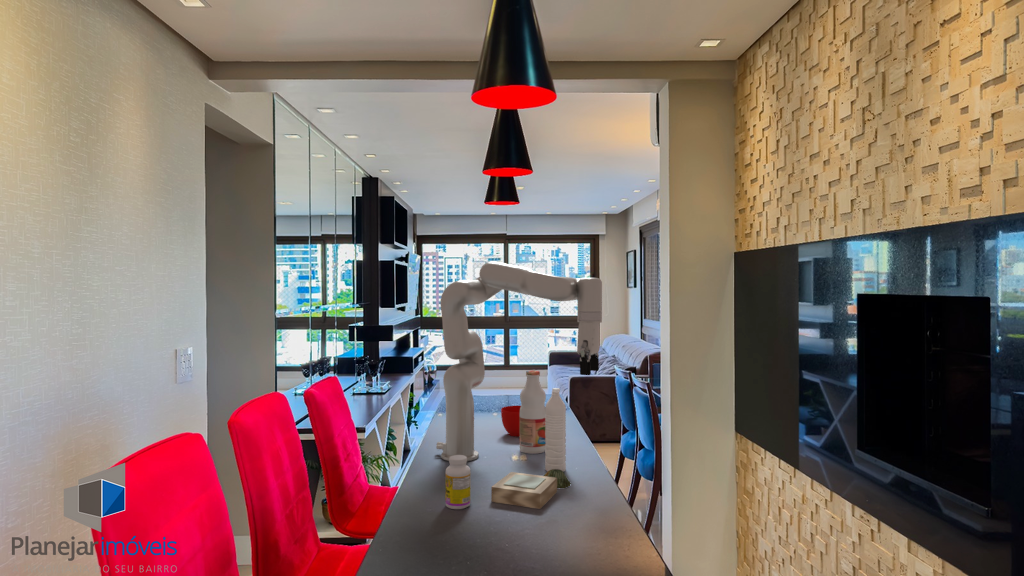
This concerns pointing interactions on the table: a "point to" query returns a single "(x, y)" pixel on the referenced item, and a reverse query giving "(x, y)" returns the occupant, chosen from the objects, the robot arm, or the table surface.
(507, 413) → the ceramic cup
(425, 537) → the table surface
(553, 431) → the water bottle
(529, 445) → the fruit juice
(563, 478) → the seashell
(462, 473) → the supplement bottle
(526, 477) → the plinth
